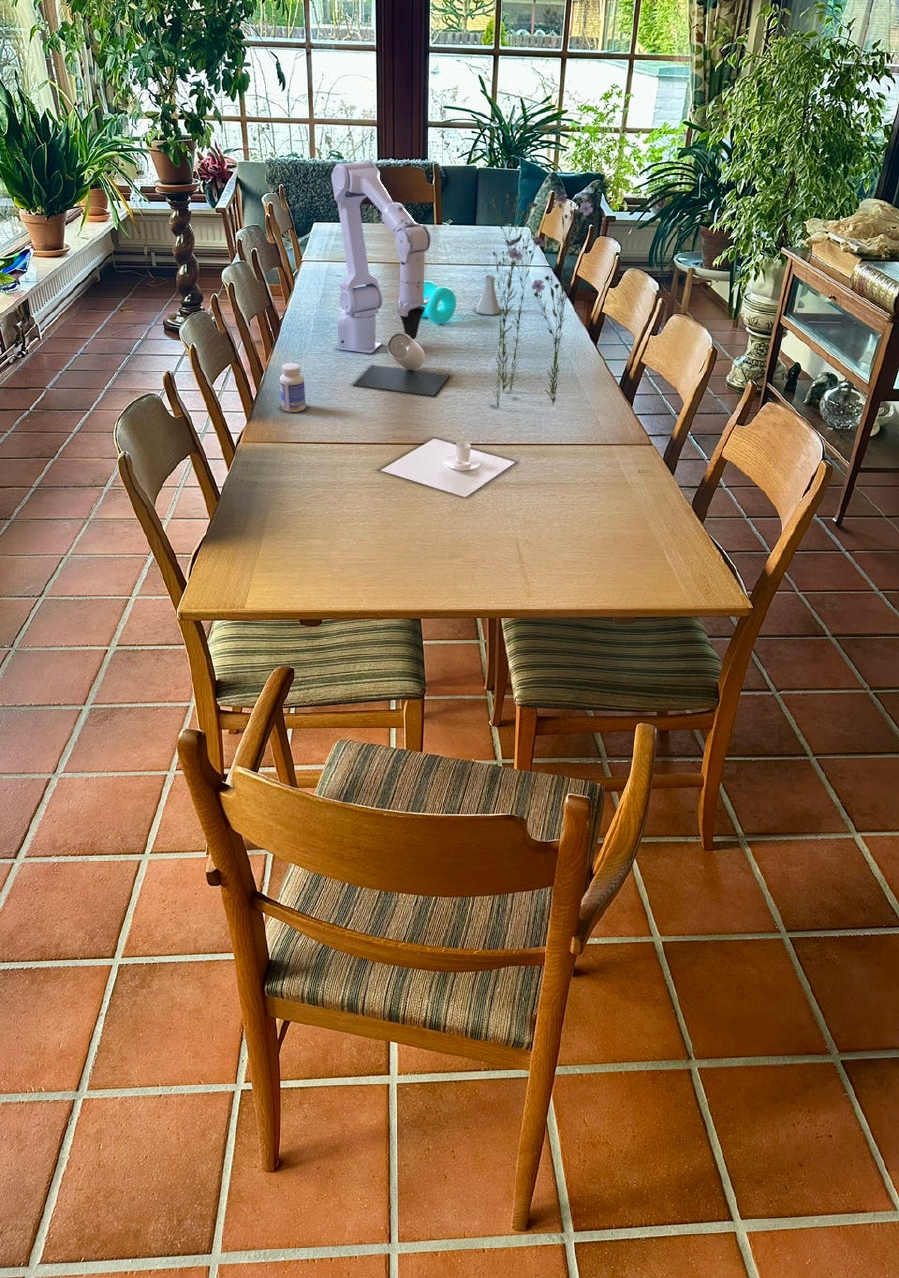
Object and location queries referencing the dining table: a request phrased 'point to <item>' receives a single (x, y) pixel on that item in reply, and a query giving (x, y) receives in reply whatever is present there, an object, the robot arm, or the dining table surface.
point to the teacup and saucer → (449, 467)
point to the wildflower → (536, 284)
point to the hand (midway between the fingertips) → (411, 337)
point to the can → (406, 351)
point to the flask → (488, 298)
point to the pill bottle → (292, 388)
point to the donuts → (433, 301)
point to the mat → (402, 380)
